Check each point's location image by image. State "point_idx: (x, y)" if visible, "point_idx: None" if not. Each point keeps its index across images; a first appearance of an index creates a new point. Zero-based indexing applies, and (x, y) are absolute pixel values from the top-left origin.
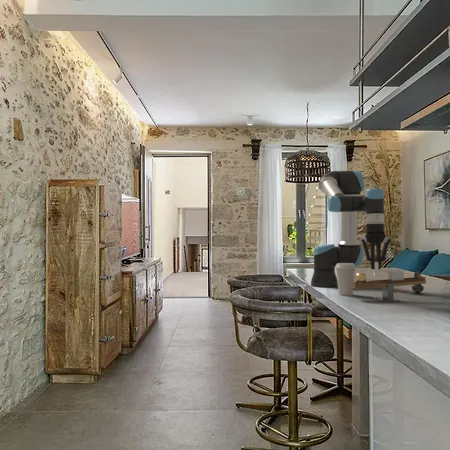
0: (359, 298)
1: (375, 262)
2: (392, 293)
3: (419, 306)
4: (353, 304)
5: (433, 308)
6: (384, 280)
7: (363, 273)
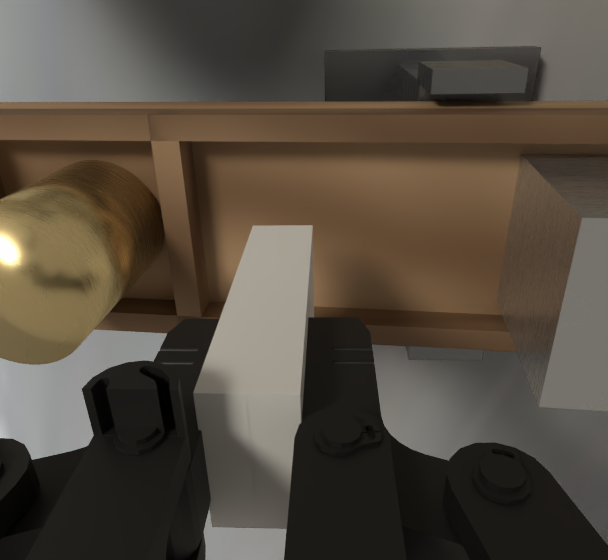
0: (144, 49)
1: (229, 524)
2: None
3: (543, 432)
4: (79, 380)
5: (594, 489)
6: (456, 141)
7: (55, 327)
